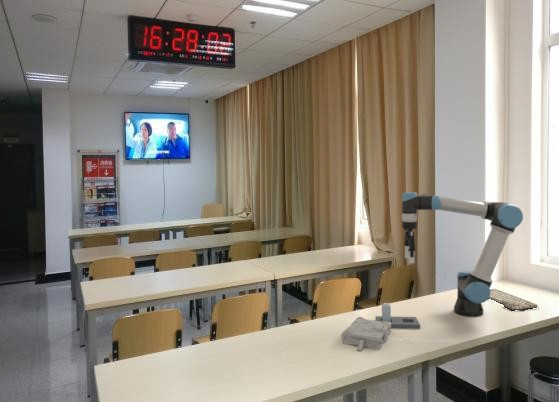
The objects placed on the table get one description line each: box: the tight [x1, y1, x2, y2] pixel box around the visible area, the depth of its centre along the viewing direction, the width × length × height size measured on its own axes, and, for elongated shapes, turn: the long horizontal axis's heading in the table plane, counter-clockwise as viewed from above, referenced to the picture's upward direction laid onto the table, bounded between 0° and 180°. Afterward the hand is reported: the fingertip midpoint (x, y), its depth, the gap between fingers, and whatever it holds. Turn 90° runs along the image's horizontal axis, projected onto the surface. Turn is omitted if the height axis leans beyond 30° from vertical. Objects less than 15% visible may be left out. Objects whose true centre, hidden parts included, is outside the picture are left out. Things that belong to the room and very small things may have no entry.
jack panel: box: [375, 315, 421, 330], centre depth 233 cm, size 21×12×2 cm, turn 83°
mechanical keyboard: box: [489, 288, 539, 312], centre depth 270 cm, size 38×19×3 cm, turn 13°
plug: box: [381, 302, 392, 322], centre depth 233 cm, size 4×4×11 cm
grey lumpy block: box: [340, 316, 392, 351], centre depth 214 cm, size 19×28×8 cm
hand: (409, 260), depth 241 cm, fingers open, 13 cm apart
